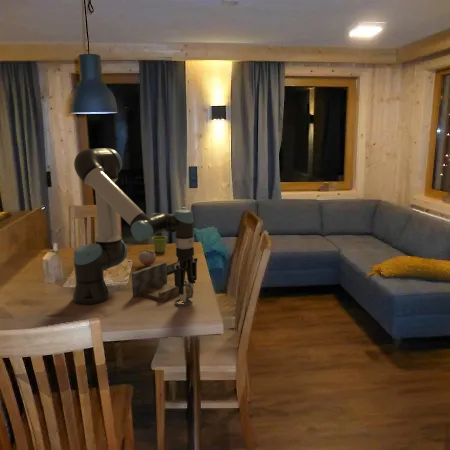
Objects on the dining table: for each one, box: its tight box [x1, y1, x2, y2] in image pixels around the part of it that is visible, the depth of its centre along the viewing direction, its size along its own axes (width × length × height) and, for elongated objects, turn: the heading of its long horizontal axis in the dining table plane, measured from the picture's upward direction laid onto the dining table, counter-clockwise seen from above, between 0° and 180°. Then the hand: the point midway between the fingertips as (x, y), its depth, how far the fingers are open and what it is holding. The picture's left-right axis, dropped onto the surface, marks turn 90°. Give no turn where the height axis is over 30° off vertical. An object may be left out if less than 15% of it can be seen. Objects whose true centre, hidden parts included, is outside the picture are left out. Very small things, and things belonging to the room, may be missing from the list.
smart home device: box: [167, 261, 177, 276], centre depth 222 cm, size 8×2×20 cm
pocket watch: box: [174, 278, 194, 307], centre depth 177 cm, size 8×8×10 cm
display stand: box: [131, 261, 180, 303], centre depth 188 cm, size 20×15×11 cm
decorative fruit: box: [138, 249, 157, 267], centre depth 227 cm, size 9×8×10 cm
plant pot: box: [151, 235, 168, 253], centre depth 256 cm, size 9×9×9 cm
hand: (186, 299), depth 179 cm, fingers open, 4 cm apart
